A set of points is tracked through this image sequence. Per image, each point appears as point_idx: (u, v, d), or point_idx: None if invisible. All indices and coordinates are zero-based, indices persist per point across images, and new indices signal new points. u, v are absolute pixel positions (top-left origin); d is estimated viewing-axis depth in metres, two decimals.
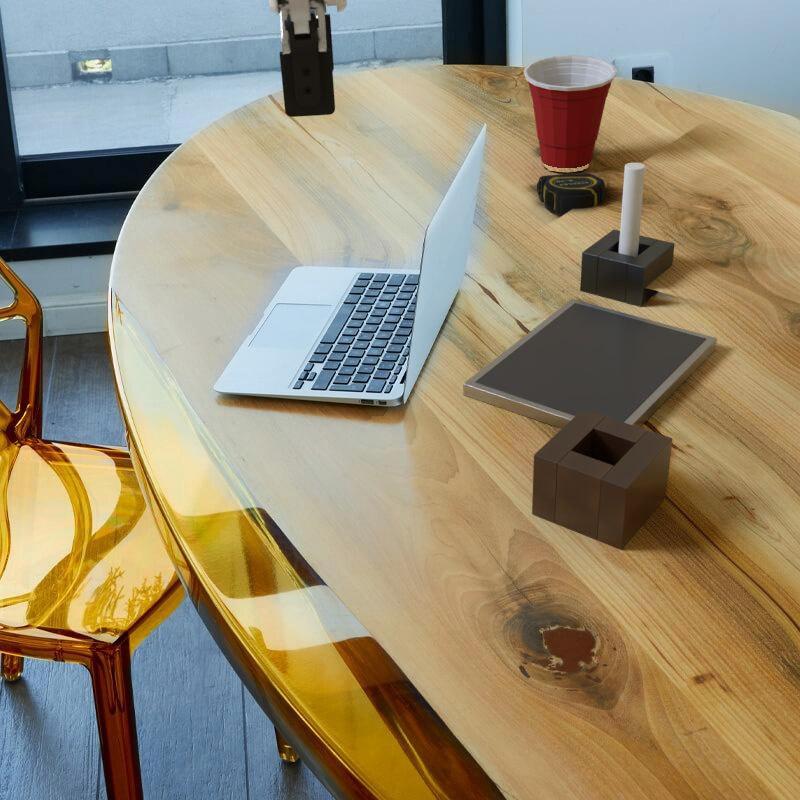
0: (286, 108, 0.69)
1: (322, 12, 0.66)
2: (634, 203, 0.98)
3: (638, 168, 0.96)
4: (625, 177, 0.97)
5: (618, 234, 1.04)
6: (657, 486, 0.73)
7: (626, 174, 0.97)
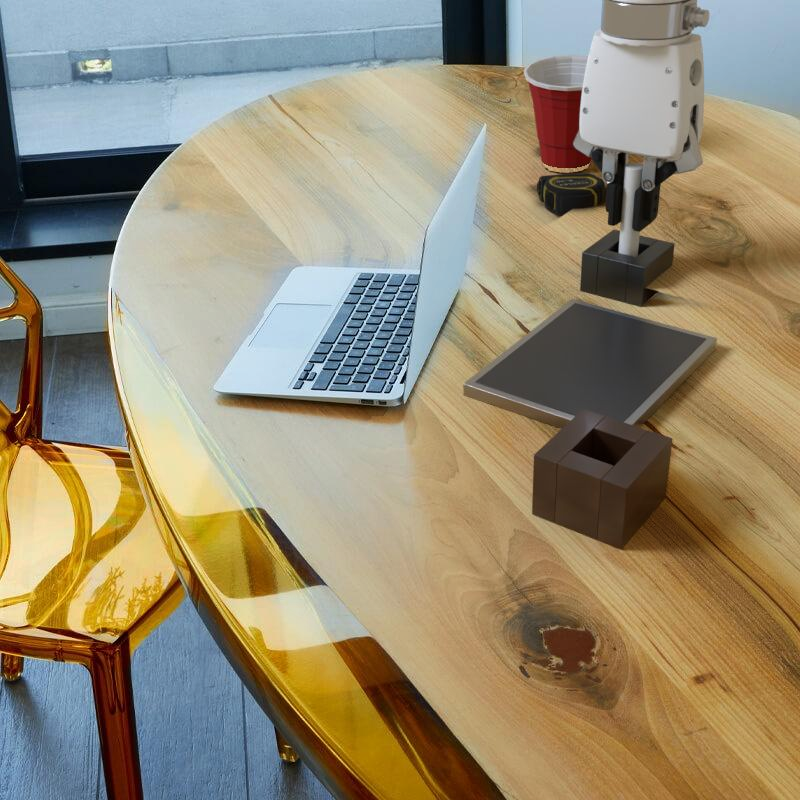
0: (639, 226, 0.98)
1: (667, 158, 0.96)
2: None
3: (638, 168, 0.96)
4: (625, 177, 0.97)
5: (618, 234, 1.04)
6: (657, 486, 0.73)
7: (626, 174, 0.97)
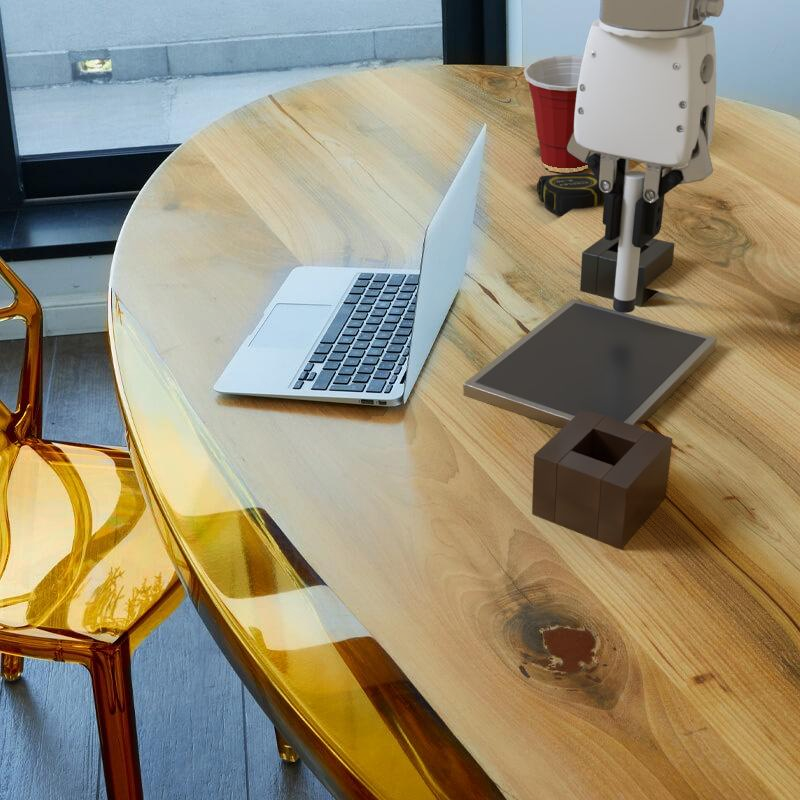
0: (639, 242, 0.87)
1: None
2: None
3: (640, 177, 0.85)
4: (625, 187, 0.86)
5: None
6: (657, 486, 0.73)
7: (626, 184, 0.86)
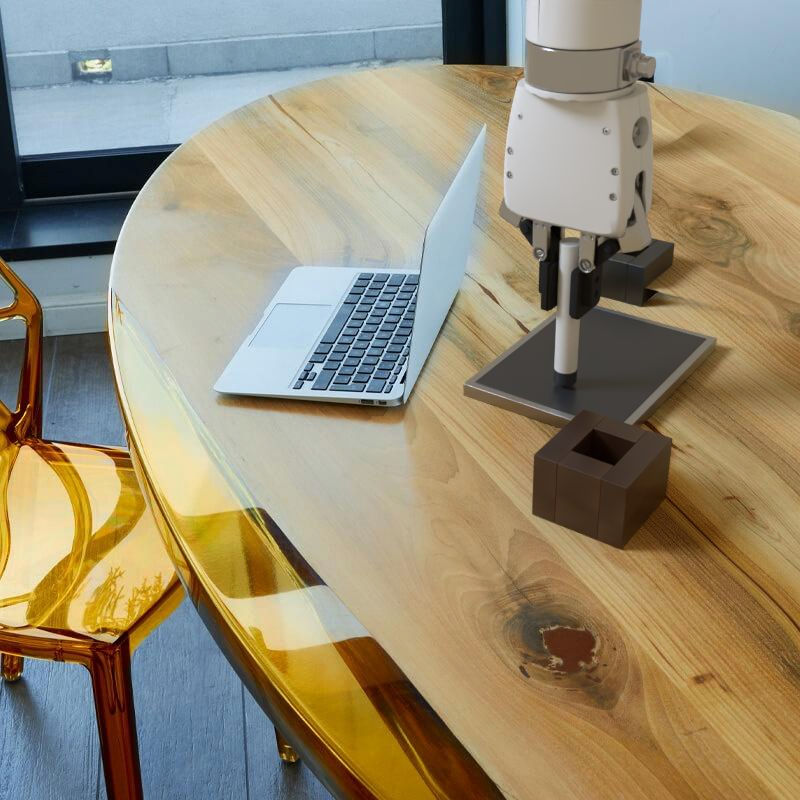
0: (577, 314, 0.80)
1: None
2: None
3: (575, 245, 0.79)
4: (560, 255, 0.80)
5: None
6: (657, 486, 0.73)
7: (561, 252, 0.80)
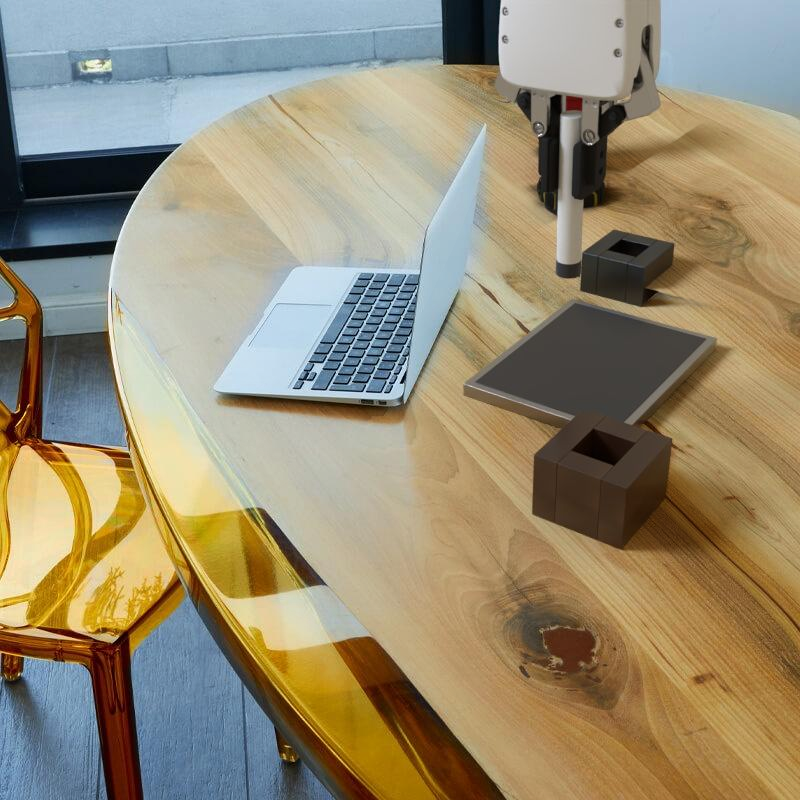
0: (580, 193, 0.74)
1: (616, 102, 0.73)
2: None
3: (577, 117, 0.73)
4: (561, 129, 0.74)
5: (618, 234, 1.04)
6: (657, 486, 0.73)
7: (562, 125, 0.74)
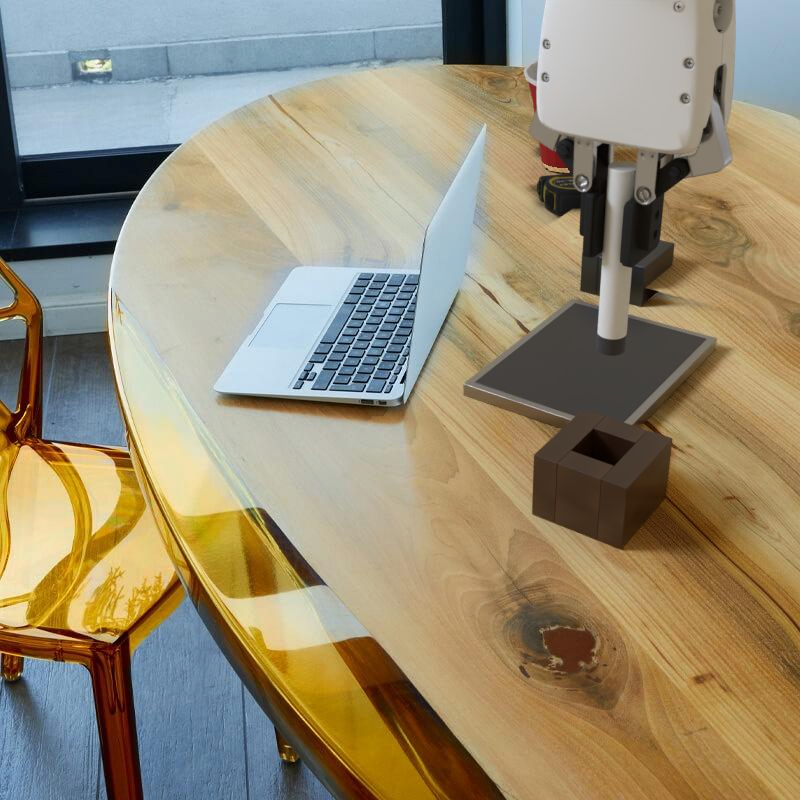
0: (630, 260, 0.63)
1: (676, 153, 0.61)
2: None
3: (629, 170, 0.61)
4: (609, 184, 0.62)
5: None
6: (657, 486, 0.73)
7: (610, 179, 0.62)
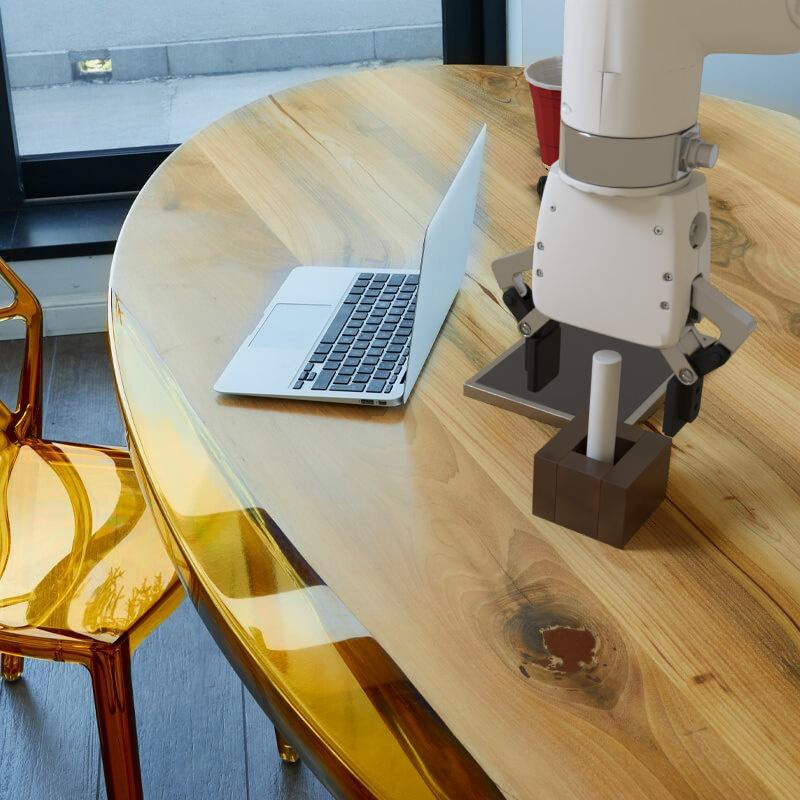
0: (672, 431, 0.66)
1: (696, 330, 0.65)
2: (606, 406, 0.69)
3: (612, 361, 0.68)
4: (593, 372, 0.68)
5: None
6: (657, 486, 0.73)
7: (595, 368, 0.68)
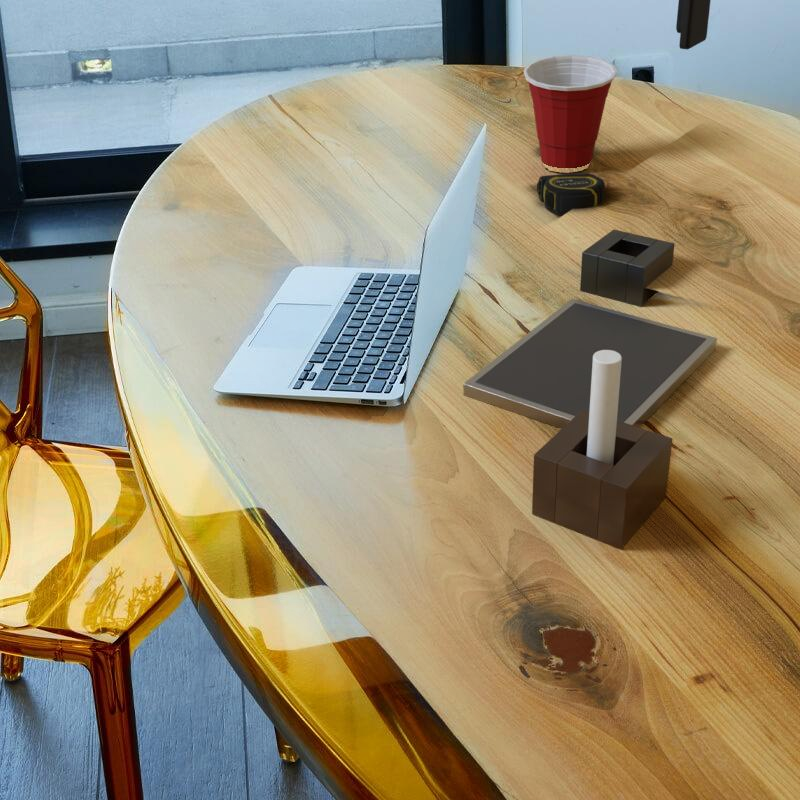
0: None
1: None
2: (606, 406, 0.69)
3: (612, 361, 0.68)
4: (593, 372, 0.68)
5: (618, 234, 1.04)
6: (657, 486, 0.73)
7: (595, 368, 0.68)
